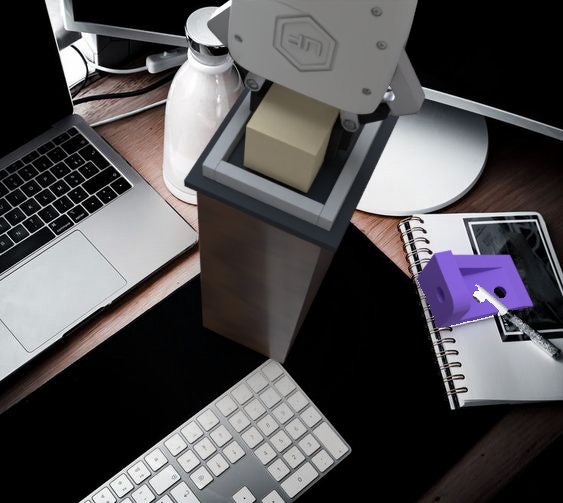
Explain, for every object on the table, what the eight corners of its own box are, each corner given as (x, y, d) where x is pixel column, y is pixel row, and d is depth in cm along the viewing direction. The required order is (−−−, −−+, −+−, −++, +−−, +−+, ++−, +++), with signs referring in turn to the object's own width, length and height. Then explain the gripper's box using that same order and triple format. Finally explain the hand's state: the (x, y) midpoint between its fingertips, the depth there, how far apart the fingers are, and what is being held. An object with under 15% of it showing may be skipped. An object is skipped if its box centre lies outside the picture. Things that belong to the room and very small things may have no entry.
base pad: (399, 116, 50) (407, 98, 48) (334, 253, 44) (340, 239, 42) (265, 61, 51) (267, 40, 49) (183, 186, 45) (182, 169, 43)
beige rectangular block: (352, 106, 48) (365, 64, 44) (306, 193, 44) (316, 155, 40) (293, 82, 48) (301, 38, 44) (243, 165, 44) (246, 125, 40)
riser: (330, 263, 75) (388, 111, 50) (283, 364, 68) (322, 248, 44) (256, 230, 76) (276, 65, 51) (202, 326, 70) (196, 191, 45)
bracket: (436, 331, 72) (457, 309, 66) (416, 278, 75) (434, 253, 69) (527, 310, 74) (555, 287, 68) (504, 260, 77) (529, 234, 71)
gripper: (150, -124, 29) (173, 124, 45) (494, 9, 27) (389, 218, 43) (223, -198, 32) (220, 57, 48) (533, -85, 30) (422, 142, 46)
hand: (300, 131), depth 46 cm, fingers closed on beige rectangular block, 5 cm apart
